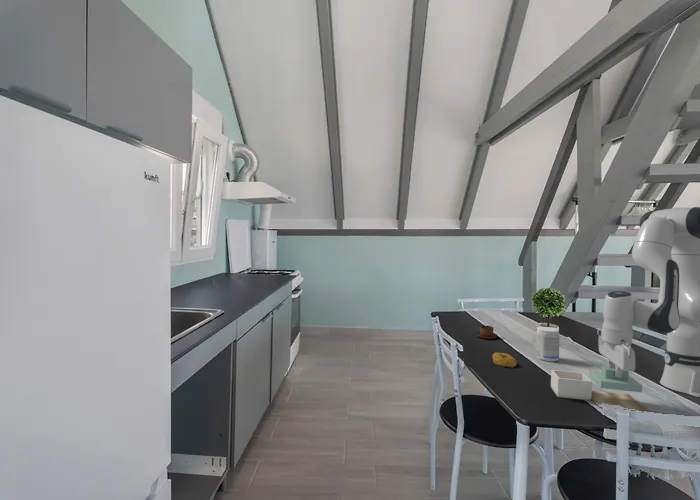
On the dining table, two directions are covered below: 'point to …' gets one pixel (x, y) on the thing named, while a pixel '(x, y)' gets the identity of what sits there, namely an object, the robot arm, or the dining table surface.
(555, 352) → the supplement tub
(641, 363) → the dining table surface
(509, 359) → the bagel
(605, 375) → the lid
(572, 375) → the storage box
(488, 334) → the cup and saucer
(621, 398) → the cork mat
